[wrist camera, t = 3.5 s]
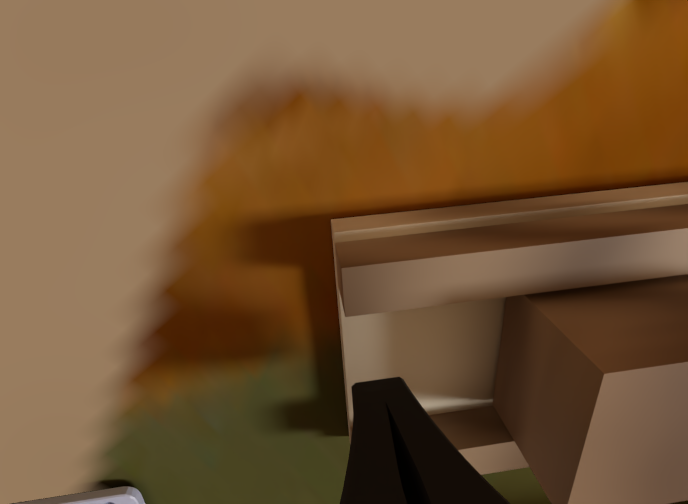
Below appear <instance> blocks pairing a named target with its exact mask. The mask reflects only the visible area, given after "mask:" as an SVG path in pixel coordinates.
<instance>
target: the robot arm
mask: <svg viewBox="0 0 688 504" xmlns="http://www.w3.org/2000/svg"><path fill="white" fill-rule="evenodd" d="M351 389H352V402H353V428H352V437H351V445H350V453H349V460H348V465H347V471H346V476H345V481H344V487H343V492H342V496H341V501H340V504H510V503H509V502H508V501H507V500H506V499H505V498H504V497H503V496H502V495H501V494H500V493H499V492H497V491H496V490H495V489H494V488H493V487H492V486H491V485H490V484H489V483H488V482H487V481H486V480H485V479H484V478H483V477H482V476H481V475H480V474H479V473H478V471H477V470H476V469H475V468H474V467H473V466H472V465H471V464H470V463H469V462H468V461H467V460H466V459H465V458H464V456H463V455H462V454H461V453H460V452H459V451H458V450H457V449H456V447H455V446H454V445H453V444H452V443H451V442H450V441H449V439H448V438H447V437H446V436H445V435H444V433H443V432H442V431H441V430H440V429H439V427H438V426H437V425H436V424H435V423H434V421H433V420H432V419H431V417H430V416H429V415H428V414H427V412H426V411H425V410H424V408H423V407H422V406H421V404H420V403H419V402H418V400H417V399H416V397H415V396H414V395H413V393H412V392H411V390H410V389H409V387H408V386H407V384H406V383H405V381H404V379H402V378H401V377H393V378H386V379H379V380H372V381H364V382H357V383H355V384H354V385H353V386H351ZM12 504H145V502H144V500H143V497H142V495H141V493H140V492H139V491H138V489H136V488H134V487H130V486H122V487H116V488H109V489H103V490H96V491H90V492H84V493H77V494H71V495H64V496H58V497H51V498H45V499H38V500H32V501H25V502H19V503H12Z"/></svg>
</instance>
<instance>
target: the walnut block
mask: <svg viewBox="0 0 688 504" xmlns="http://www.w3.org/2000/svg"><path fill="white" fill-rule="evenodd" d="M493 406H494V408H495V409H496V411H497V413H498V414H499V416H500V418H501V420H502V421H503V423H504V425H505V426H506V428H507V430H508V431H509V433H510V435H511V436H512V438H513V440H514V441H515V443H516V445H517V446H518V448H519V450H520V451H521V453H522V455H523V457H524V458H525V460H526V462H527V463H528V465H529V467H530V468H531V470H532V472H533V473H534V475H535V477H536V478H537V480H538V482H539V483H540V485H541V487H542V488H543V490H544V492H545V493H546V495H547V497H548V499H549V500H550V502H551V504H669V503H675V502H681V501H686V500H688V274H685V275H677V276H669V277H661V278H653V279H645V280H637V281H629V282H621V283H613V284H605V285H597V286H589V287H581V288H573V289H566V290H558V291H550V292H542V293H534V294H526V295H518V296H510V297H506V303H505V311H504V318H503V326H502V334H501V342H500V349H499V357H498V365H497V373H496V380H495V388H494V396H493Z"/></svg>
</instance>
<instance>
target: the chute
mask: <svg viewBox="0 0 688 504" xmlns="http://www.w3.org/2000/svg"><path fill="white" fill-rule="evenodd" d="M331 229H332V241H333V253H334V265H335V276H336V288H337V300H338V312H339V323H340V335H341V347H342V359H343V370H344V382H345V394H346V406H347V417H348V429H349V439H350V445H351V437H352V428H353V402H352V389H351V386H353V385H354V384H355V383H357V382H364V381H372V380H379V379H386V378H393V377H401V378H402V379H404V381H405V383H406V384H407V386H408V387H409V389H410V390H411V392H412V393H413V395H414V396H415V397H416V399H417V400H418V402H419V403H420V404H421V406H422V407H423V408H424V410H425V411H426V412H427V414H428V415H429V416H430V417H431V419H432V420H433V421H434V423H435V424H436V425H437V426H438V427H439V429H440V430H441V431H442V432H443V433H444V435H445V436H446V437H447V438H448V439H449V441H450V442H451V443H452V444H453V445H454V446H455V447H456V449H457V450H458V451H459V452H460V453H461V454H462V455H463V456H464V458H465V459H466V460H467V461H468V462H469V463H470V464H471V465H472V466H473V467H474V468H475V469H476V470H477V471H478V473H479V474H480V475H482V474H488V473H494V472H501V471H507V470H513V469H519V468H525V467H529V465H528V463H527V462H526V460H525V458H524V457H523V455H522V453H521V451H520V450H519V448H518V446H517V445H516V443H515V441H514V440H513V438H512V436H511V435H510V433H509V431H508V430H507V428H506V426H505V425H504V423H503V421H502V420H501V418H500V416H499V414H498V413H497V411H496V409H495V408H494V406H493V396H494V388H495V380H496V373H497V365H498V357H499V349H500V342H501V334H502V326H503V318H504V311H505V303H506V297H510V296H518V295H526V294H534V293H542V292H550V291H558V290H566V289H573V288H581V287H589V286H597V285H605V284H613V283H621V282H629V281H637V280H645V279H653V278H661V277H669V276H677V275H685V274H688V182H681V183H671V184H662V185H652V186H643V187H633V188H624V189H614V190H605V191H595V192H586V193H577V194H567V195H558V196H548V197H539V198H529V199H520V200H510V201H501V202H491V203H482V204H472V205H463V206H453V207H444V208H434V209H425V210H415V211H406V212H396V213H387V214H377V215H368V216H358V217H349V218H339V219H331Z"/></svg>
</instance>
